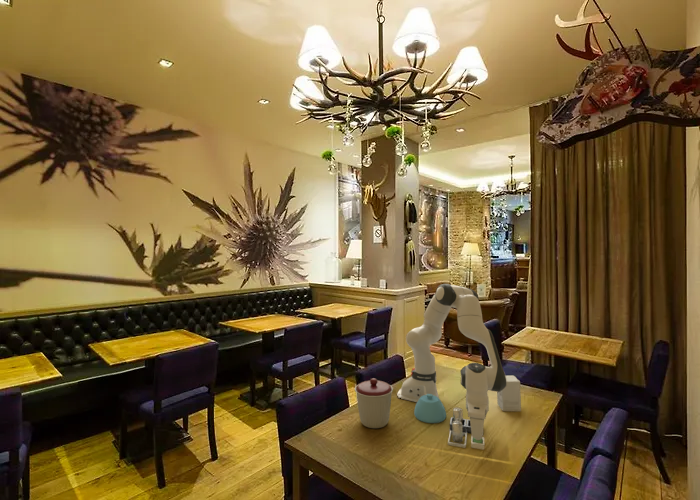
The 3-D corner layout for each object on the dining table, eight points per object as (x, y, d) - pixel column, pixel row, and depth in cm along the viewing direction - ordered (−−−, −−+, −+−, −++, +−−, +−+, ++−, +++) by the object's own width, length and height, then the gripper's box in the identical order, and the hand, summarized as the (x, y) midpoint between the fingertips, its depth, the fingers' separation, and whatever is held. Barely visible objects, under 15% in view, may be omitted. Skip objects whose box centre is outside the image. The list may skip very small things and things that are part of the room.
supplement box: (514, 403, 184) (514, 375, 184) (521, 411, 175) (520, 381, 175) (496, 403, 185) (496, 374, 185) (502, 411, 176) (501, 381, 176)
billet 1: (453, 428, 158) (452, 410, 158) (454, 424, 162) (453, 406, 162) (462, 430, 156) (462, 411, 156) (463, 425, 160) (462, 407, 160)
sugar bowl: (447, 427, 162) (446, 402, 161) (414, 424, 165) (413, 400, 164) (445, 412, 176) (444, 389, 176) (414, 410, 179) (414, 387, 179)
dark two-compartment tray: (449, 432, 157) (449, 424, 157) (451, 424, 164) (450, 416, 164) (483, 438, 152) (483, 429, 151) (483, 429, 159) (483, 421, 159)
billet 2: (452, 443, 147) (451, 424, 147) (453, 438, 151) (452, 419, 151) (462, 445, 146) (461, 425, 146) (462, 440, 150) (462, 421, 150)
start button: (473, 446, 144) (473, 439, 144) (473, 441, 147) (473, 435, 147) (482, 447, 143) (482, 441, 143) (482, 443, 146) (482, 437, 146)
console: (471, 450, 143) (470, 442, 143) (471, 442, 148) (471, 435, 148) (484, 452, 141) (484, 445, 141) (484, 444, 147) (484, 437, 147)
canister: (400, 419, 169) (399, 376, 169) (382, 437, 154) (381, 389, 154) (367, 411, 179) (366, 369, 179) (347, 426, 164) (347, 381, 164)
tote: (447, 447, 145) (447, 442, 145) (450, 435, 154) (450, 430, 154) (465, 450, 143) (465, 445, 143) (467, 438, 152) (466, 433, 152)
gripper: (470, 393, 156) (470, 425, 156) (467, 414, 136) (468, 450, 136) (485, 395, 153) (486, 427, 153) (485, 417, 134) (486, 453, 134)
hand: (477, 438), depth 145 cm, fingers closed, pressing on start button
